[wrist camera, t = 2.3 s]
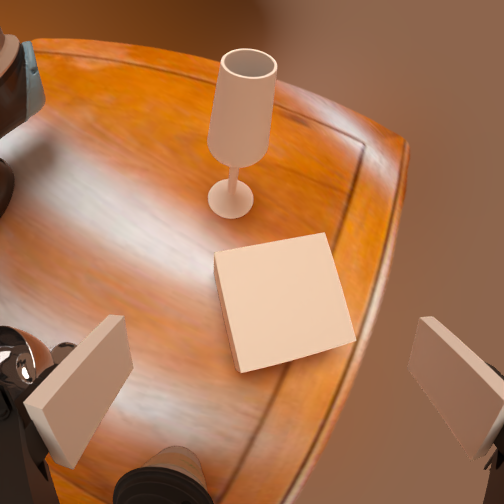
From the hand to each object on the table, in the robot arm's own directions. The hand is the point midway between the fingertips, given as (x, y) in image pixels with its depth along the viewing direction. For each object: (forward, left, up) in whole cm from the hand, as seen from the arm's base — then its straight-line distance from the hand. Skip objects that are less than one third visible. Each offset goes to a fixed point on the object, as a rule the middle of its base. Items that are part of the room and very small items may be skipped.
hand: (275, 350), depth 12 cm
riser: (+6, +5, -27) cm, 28 cm away
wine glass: (-23, +2, -27) cm, 35 cm away
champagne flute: (+4, +22, -27) cm, 35 cm away
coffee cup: (-11, -13, -27) cm, 32 cm away
